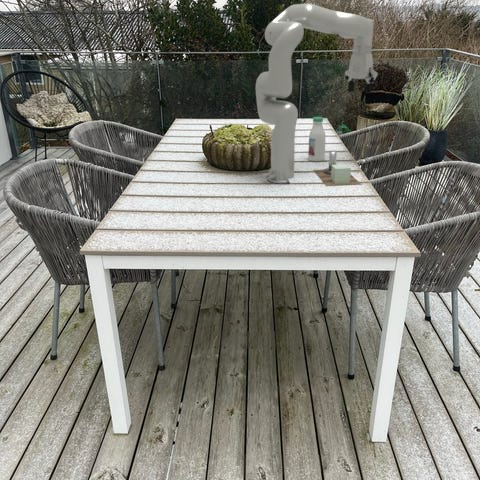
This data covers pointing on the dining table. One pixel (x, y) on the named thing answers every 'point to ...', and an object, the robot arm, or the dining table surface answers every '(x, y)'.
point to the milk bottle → (317, 141)
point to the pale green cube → (340, 174)
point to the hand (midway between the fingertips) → (359, 92)
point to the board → (326, 173)
